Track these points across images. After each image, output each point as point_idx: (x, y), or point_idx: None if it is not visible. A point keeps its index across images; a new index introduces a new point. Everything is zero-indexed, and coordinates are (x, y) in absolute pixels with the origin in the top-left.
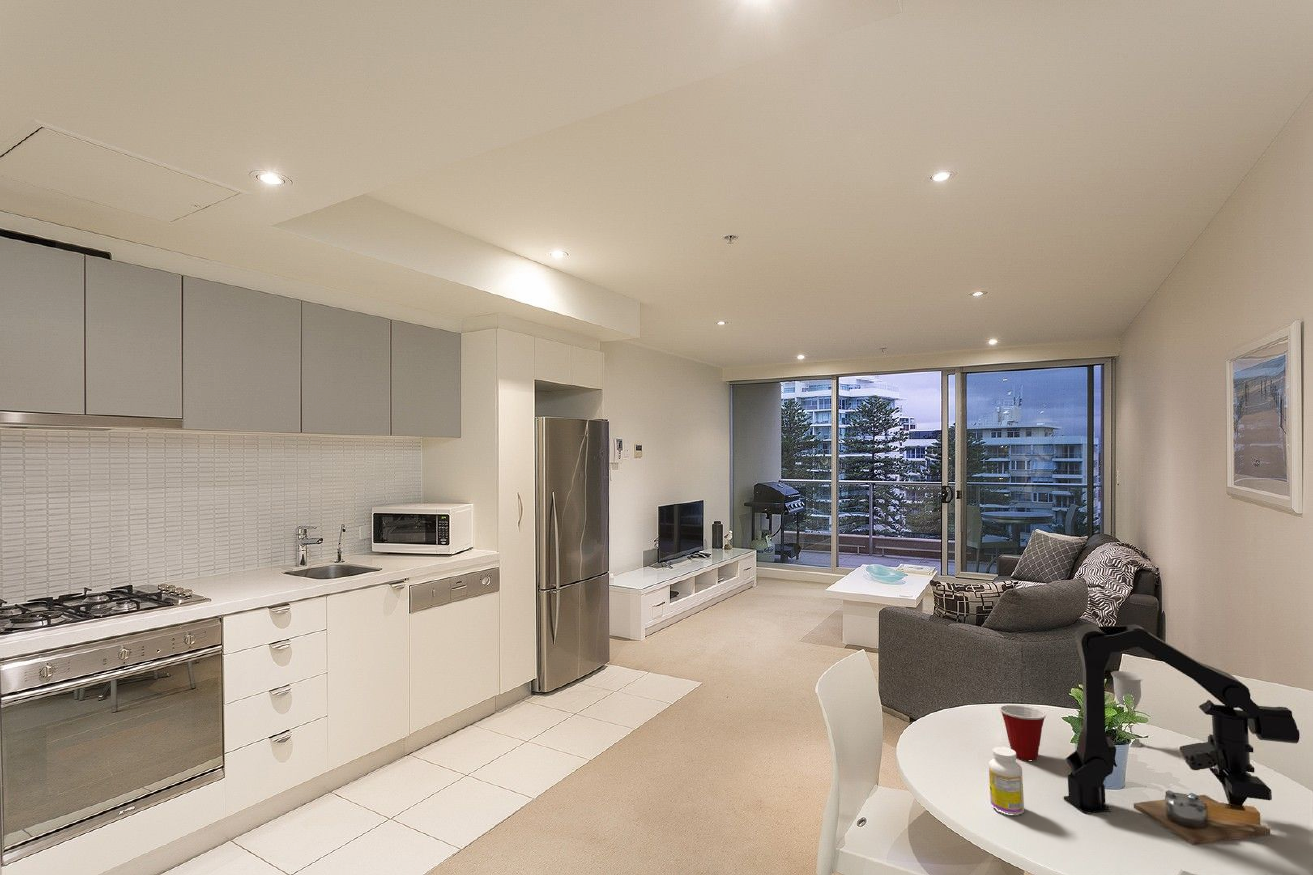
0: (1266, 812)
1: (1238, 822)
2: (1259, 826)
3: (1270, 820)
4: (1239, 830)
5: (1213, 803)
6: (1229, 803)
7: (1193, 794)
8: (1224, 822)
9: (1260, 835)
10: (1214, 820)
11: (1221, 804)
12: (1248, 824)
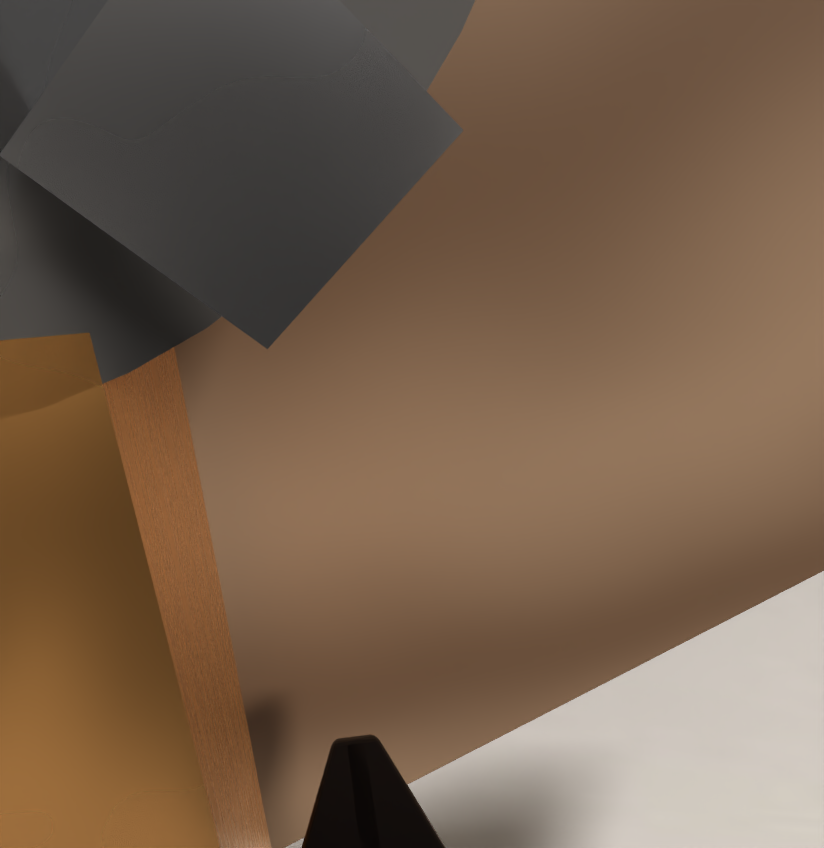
0: (722, 819)
1: (308, 648)
2: (285, 801)
3: (574, 827)
4: None
5: (18, 642)
6: (356, 844)
7: (297, 166)
8: (226, 497)
9: None
10: (231, 376)
11: (87, 779)
12: (297, 725)
